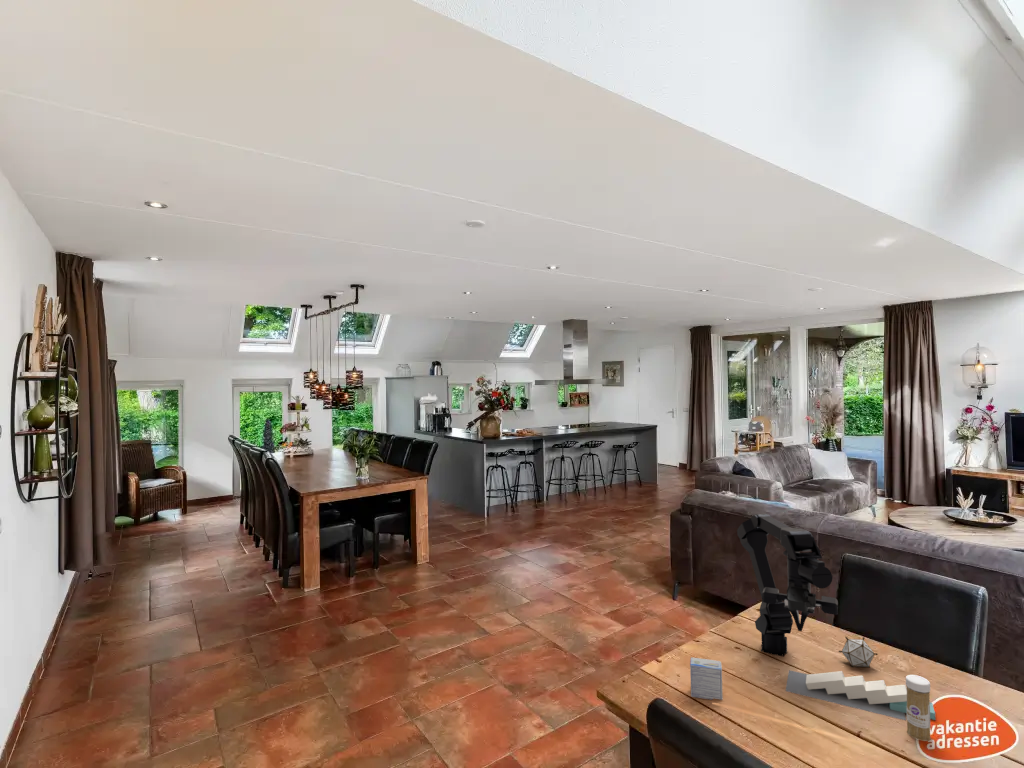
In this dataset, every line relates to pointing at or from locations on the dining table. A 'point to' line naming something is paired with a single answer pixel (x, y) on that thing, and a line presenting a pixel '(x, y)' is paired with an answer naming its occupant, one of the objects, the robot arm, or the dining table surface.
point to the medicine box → (706, 678)
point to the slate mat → (837, 697)
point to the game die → (858, 652)
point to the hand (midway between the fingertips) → (799, 630)
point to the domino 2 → (849, 686)
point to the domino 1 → (825, 680)
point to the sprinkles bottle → (918, 707)
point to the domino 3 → (870, 690)
